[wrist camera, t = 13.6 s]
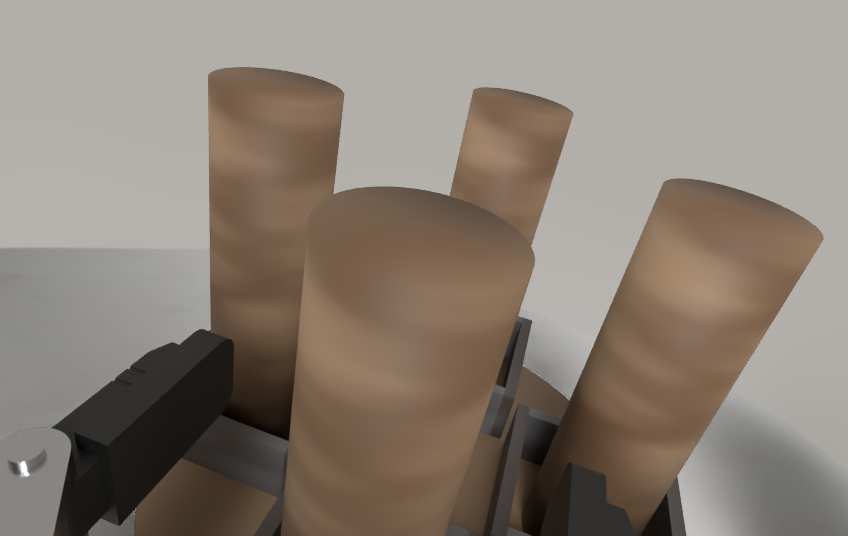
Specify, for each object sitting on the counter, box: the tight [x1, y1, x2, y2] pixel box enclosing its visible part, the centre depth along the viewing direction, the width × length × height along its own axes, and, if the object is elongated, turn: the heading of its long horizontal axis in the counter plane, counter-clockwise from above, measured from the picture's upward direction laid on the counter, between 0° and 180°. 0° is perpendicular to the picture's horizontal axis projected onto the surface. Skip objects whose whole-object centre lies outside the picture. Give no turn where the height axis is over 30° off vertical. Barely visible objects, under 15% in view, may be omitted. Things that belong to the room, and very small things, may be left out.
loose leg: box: [281, 187, 535, 536], centre depth 13 cm, size 4×4×14 cm
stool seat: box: [135, 67, 823, 536], centre depth 20 cm, size 20×20×17 cm
